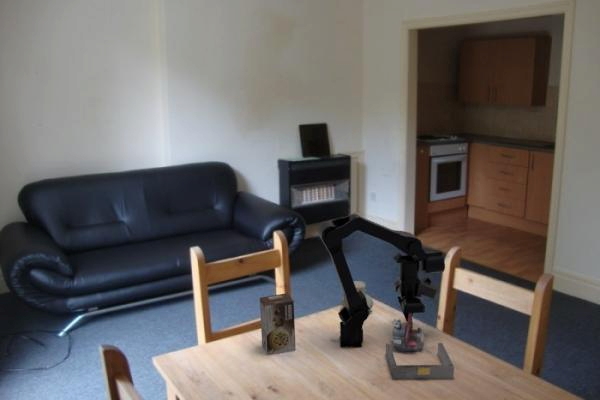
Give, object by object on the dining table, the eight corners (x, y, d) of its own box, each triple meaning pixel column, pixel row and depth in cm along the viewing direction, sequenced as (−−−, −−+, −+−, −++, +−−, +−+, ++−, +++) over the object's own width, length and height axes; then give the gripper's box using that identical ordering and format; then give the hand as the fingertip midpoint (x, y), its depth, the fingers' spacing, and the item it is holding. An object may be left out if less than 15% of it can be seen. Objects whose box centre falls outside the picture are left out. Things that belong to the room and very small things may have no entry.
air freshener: (338, 308, 197) (337, 281, 195) (356, 303, 202) (356, 276, 200) (358, 319, 189) (358, 291, 186) (376, 313, 193) (377, 286, 191)
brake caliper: (430, 350, 162) (405, 316, 162) (399, 366, 167) (375, 334, 167) (433, 332, 173) (410, 301, 173) (404, 348, 177) (381, 318, 177)
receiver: (392, 380, 152) (393, 368, 151) (385, 354, 166) (385, 343, 165) (453, 379, 151) (454, 368, 151) (441, 353, 165) (442, 342, 164)
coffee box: (289, 341, 175) (288, 292, 171) (296, 350, 169) (294, 300, 165) (261, 346, 172) (259, 296, 168) (266, 356, 166) (264, 305, 162)
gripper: (443, 285, 162) (441, 335, 166) (429, 263, 180) (427, 308, 184) (404, 286, 162) (403, 336, 166) (394, 264, 180) (393, 309, 184)
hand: (408, 321), depth 175 cm, fingers closed
